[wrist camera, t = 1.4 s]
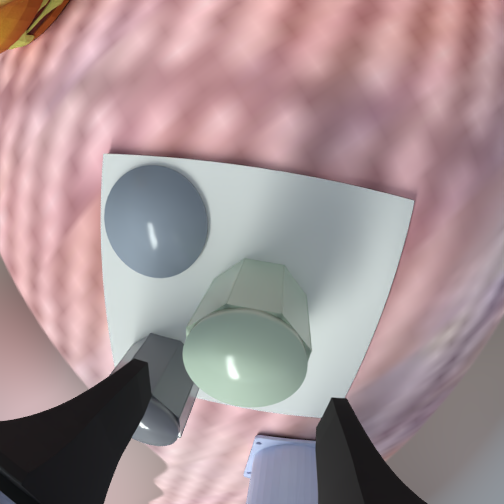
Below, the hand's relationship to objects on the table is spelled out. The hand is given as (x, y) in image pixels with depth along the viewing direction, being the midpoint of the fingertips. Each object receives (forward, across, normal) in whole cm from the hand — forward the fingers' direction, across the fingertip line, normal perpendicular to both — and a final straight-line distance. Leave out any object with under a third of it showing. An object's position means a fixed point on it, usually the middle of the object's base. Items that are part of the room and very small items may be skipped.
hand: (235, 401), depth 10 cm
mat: (+9, +2, +1) cm, 9 cm away
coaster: (+8, +7, -4) cm, 11 cm away
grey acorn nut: (+8, +6, +7) cm, 12 cm away
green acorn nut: (+8, 0, 0) cm, 8 cm away
